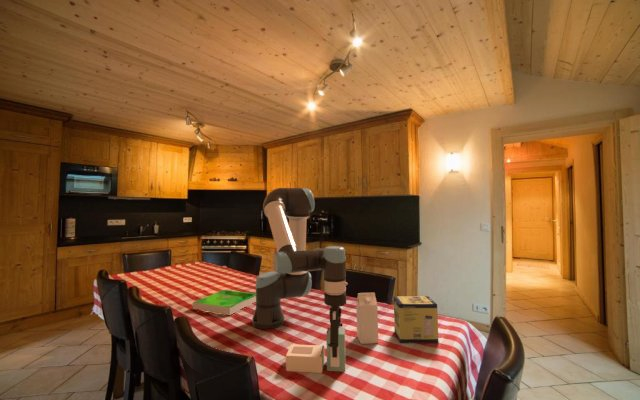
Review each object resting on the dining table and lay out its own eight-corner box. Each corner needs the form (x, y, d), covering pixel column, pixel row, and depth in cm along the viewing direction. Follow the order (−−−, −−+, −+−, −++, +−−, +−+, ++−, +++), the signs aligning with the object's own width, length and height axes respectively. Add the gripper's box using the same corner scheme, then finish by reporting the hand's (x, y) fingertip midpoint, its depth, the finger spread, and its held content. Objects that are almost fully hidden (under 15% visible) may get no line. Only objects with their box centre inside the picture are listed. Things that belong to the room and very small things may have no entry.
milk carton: (356, 336, 118) (356, 290, 119) (373, 335, 119) (372, 290, 120) (360, 344, 111) (359, 295, 112) (378, 343, 112) (377, 295, 113)
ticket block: (286, 370, 94) (286, 354, 94) (291, 358, 101) (291, 343, 102) (322, 372, 92) (321, 356, 92) (324, 359, 100) (324, 345, 100)
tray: (192, 311, 153) (192, 302, 153) (224, 297, 176) (224, 289, 176) (230, 317, 143) (230, 307, 144) (258, 302, 167) (258, 293, 167)
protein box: (393, 332, 122) (392, 295, 123) (429, 332, 122) (428, 295, 122) (399, 343, 112) (398, 303, 112) (439, 343, 111) (438, 303, 112)
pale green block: (326, 370, 93) (326, 333, 94) (328, 362, 98) (327, 327, 99) (345, 371, 93) (344, 333, 93) (345, 363, 98) (344, 327, 98)
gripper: (345, 304, 84) (346, 377, 83) (346, 283, 109) (347, 338, 108) (320, 303, 85) (321, 375, 84) (327, 282, 109) (328, 338, 109)
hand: (336, 355), depth 96 cm, fingers open, 13 cm apart
